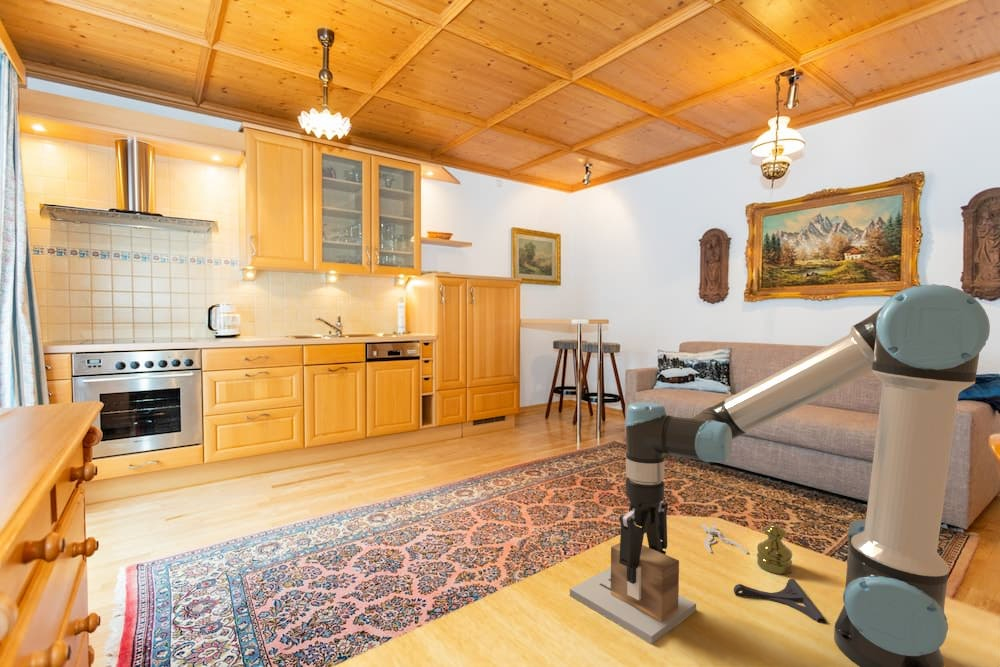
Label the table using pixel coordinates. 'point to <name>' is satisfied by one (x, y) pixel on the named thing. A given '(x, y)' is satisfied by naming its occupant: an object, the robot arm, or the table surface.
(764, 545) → the brass door knob
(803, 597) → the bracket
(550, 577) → the table surface
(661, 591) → the block
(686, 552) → the table surface
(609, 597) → the board
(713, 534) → the pliers
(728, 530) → the table surface
